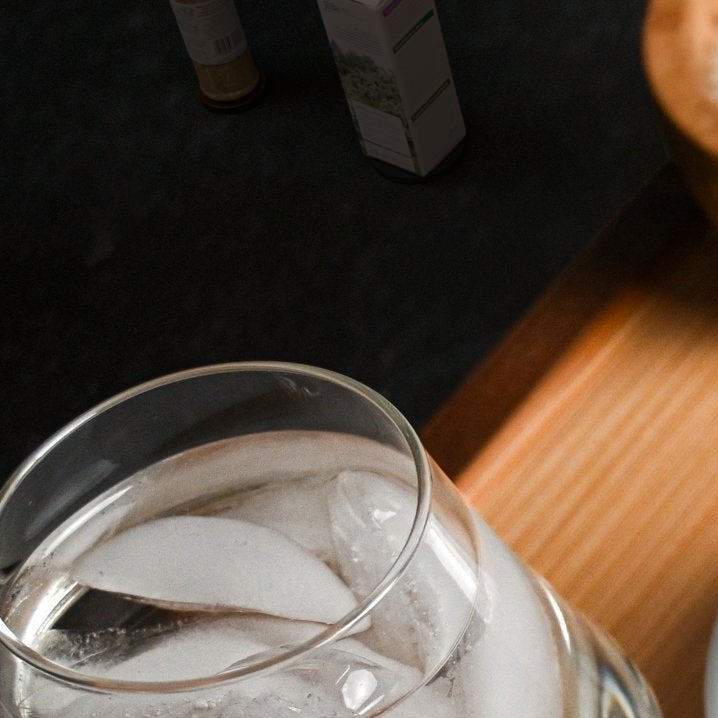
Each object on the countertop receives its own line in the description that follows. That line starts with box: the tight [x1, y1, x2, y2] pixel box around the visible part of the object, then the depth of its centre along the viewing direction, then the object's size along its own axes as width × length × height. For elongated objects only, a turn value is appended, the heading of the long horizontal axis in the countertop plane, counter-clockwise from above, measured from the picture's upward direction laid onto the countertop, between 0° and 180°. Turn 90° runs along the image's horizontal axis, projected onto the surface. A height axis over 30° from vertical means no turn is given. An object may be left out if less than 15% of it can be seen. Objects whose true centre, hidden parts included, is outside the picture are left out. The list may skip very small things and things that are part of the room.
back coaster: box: [197, 66, 269, 115], centre depth 146 cm, size 5×5×1 cm
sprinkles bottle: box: [168, 0, 259, 101], centre depth 140 cm, size 5×5×13 cm
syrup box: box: [316, 0, 467, 177], centre depth 135 cm, size 6×6×14 cm
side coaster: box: [369, 136, 467, 185], centre depth 141 cm, size 7×7×1 cm
